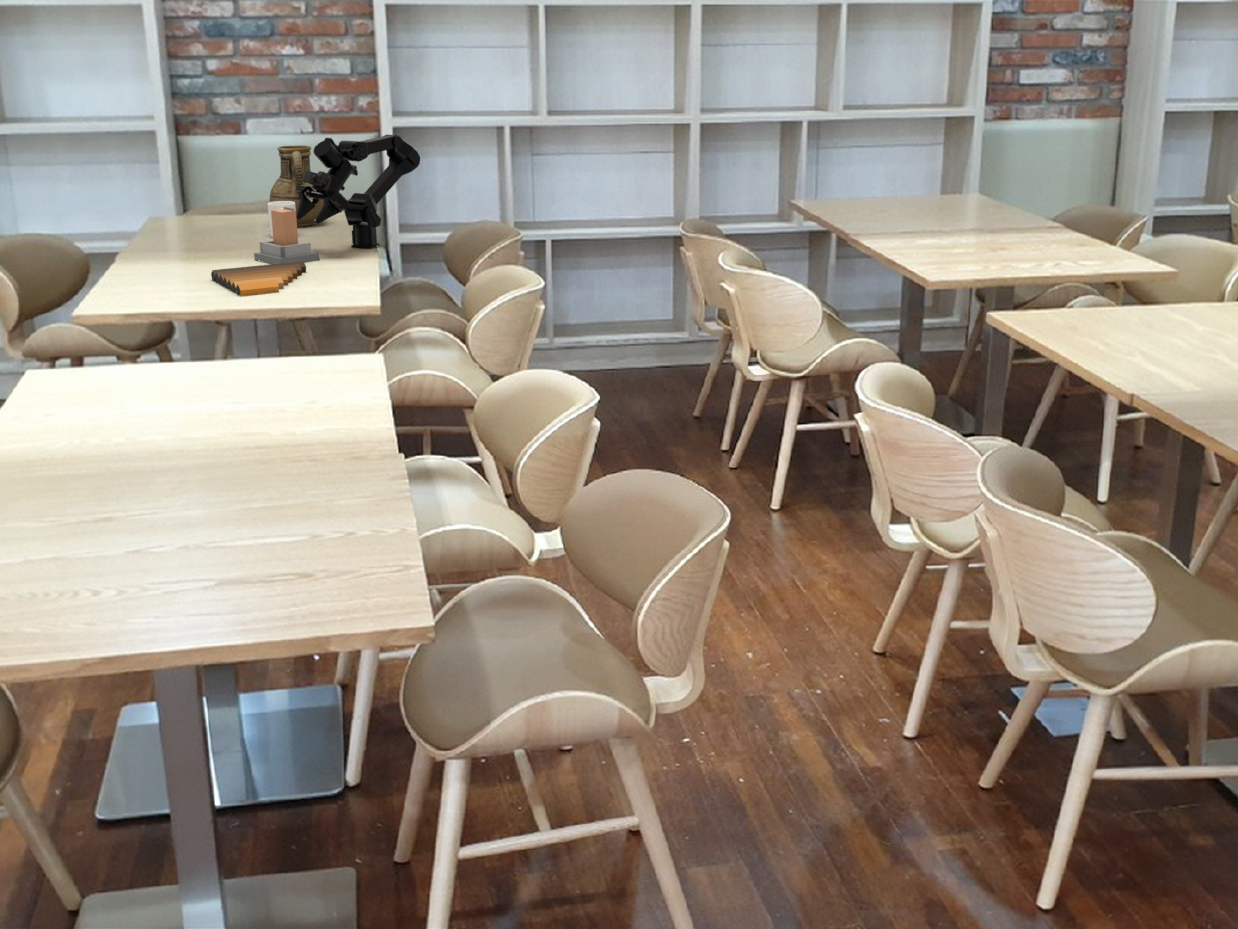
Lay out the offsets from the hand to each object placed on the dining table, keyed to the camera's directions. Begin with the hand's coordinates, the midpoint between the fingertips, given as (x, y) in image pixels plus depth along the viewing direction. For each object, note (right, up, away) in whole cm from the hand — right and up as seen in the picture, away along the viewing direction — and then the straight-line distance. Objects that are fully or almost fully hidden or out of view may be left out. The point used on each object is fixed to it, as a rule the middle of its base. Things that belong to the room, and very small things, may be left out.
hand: (306, 221), depth 406 cm
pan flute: (-2, -23, -33) cm, 40 cm away
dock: (-5, -11, -2) cm, 13 cm away
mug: (-15, +1, +35) cm, 37 cm away
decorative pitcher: (-15, +8, +57) cm, 59 cm away
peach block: (-5, -10, -3) cm, 11 cm away
